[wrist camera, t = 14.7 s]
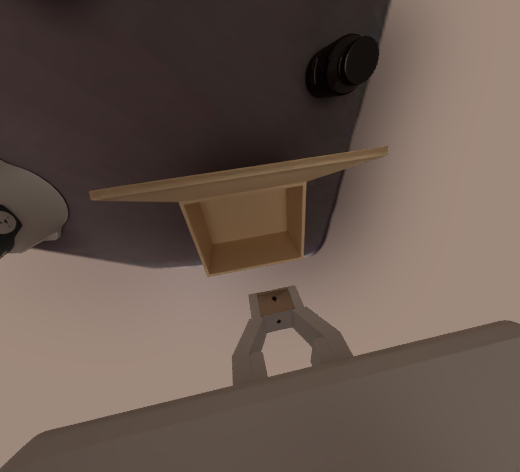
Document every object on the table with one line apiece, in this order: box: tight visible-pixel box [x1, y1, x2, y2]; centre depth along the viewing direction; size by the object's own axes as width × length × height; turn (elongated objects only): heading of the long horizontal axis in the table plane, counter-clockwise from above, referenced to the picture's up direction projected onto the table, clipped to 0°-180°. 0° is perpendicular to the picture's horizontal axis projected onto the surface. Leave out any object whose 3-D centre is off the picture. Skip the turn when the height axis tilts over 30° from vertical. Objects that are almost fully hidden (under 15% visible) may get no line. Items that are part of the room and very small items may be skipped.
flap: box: [88, 146, 388, 202], centre depth 22 cm, size 22×18×1 cm
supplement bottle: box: [306, 34, 379, 98], centre depth 29 cm, size 7×7×12 cm
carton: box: [179, 182, 306, 277], centre depth 41 cm, size 22×18×12 cm
